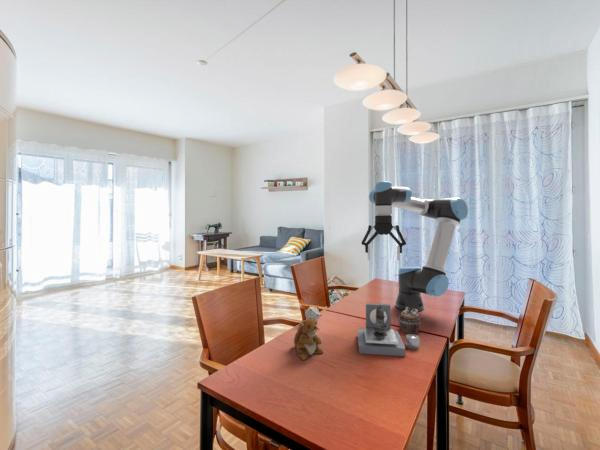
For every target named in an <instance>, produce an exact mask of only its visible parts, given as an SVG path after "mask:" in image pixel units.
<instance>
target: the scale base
mask: <svg viewBox="0 0 600 450" xmlns="http://www.w3.org/2000/svg"><path fill="white" fill-rule="evenodd" d="M380 305H381V307H382V308H383V309H384V316H385V317H384V324H386V325H387V326H388V327H387V329H392V328H391V324H392V323H391V319H392V317H391V315H392V314H391V310H392V309H391V304H390V303H383V302H382V303H379V302H365V328H373V324H374V323H376V309H377V308H378V307H380ZM394 333H395V335H396V338H397V340H398V344H380V343H366V341H365V334H364V328H363V329H360V328H358V329H357V343H358V351H359V352H358V353H359V354H363V355H364V354H365V355H366V354H367V355H381V356H395V357H397V356H398V357H406V346H405V344H404V342H403V340H402V337H401V335H400V333H399V331H398V330H397V331H396V330H394Z"/></svg>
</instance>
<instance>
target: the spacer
mask: <svg viewBox="0 0 600 450" xmlns="http://www.w3.org/2000/svg"><path fill="white" fill-rule="evenodd" d="M405 348H407V349H410V350H411V349H412V350H417V349H420V336H419V335H417V334H415V333H409V334H406V335H405Z"/></svg>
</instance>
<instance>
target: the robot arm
mask: <svg viewBox="0 0 600 450" xmlns="http://www.w3.org/2000/svg"><path fill="white" fill-rule="evenodd" d="M374 185H375V186H374V189H373V190H371V191H370V192H369V195H368V198H369V201H370V202H371V203H372V204H374V206H375V207H374V209H375V210H374V212H375V216H374V223H375V224H374V225H371V224H370V225H369V224H368V227H367V231H366V233H365V235H364V237H363V239H362V240H361V245H362V246H364V249H365V251H364V252H365V253H366V254H367V260H368V261H370V259H371V256H370V252H371V248H370V244H371V243H372V242H373V241H374V239H376V237H377V236H379V235H380V236H381V235H382V236H383V235H385V236H386V235H389V236H390V237H391V238H392V240H394V241H395V243H396V244H397V246H396V260H397V261H400V259H401V257H400V256H401V255H400V254H402V253H403V247H404V246H406V245H407V242H406V240H405V238H404V236H403V234H402V232H401V231H400V226H399V225H398V224H395V225H393V223H392V220H393V216H392V214H393V208H397V209H401V210H406V211H409V212H415V214H416V215H419V216H422V217H426V218H430V219H433V220H436V222H437V226H436V230H435V233H434V237H433V240H432V244H431V248H430V252H429V254H428V258H427V262H426V264H424V265H423V266H422V268H421V267H420V266H414V265H413V266H402V267H399V269H398V294H397V297H396V299H395V307H396V308H397V309H399V310H402V311H404V310H406V309H405V308H406V307H410V308H417V310H418V312H421V311H423V310H424V309H425V303H424V300H423V298H422V295H421V294H425V295H428V296H430V297H431V296H432V297H441V296H443V295H444V294H445V293H446V292H447V290H448V288H449V285H450V282H449V278H448V276H446V275H447V272H446V270H445V266H446V262H447V260H448V255H449V253H450V248H451V244H452V241H453V237H454V234H455V233H454V232H455V230H456V227H458V226H459V225H460V224H461V220H462V221H463V220H465V219H466V218H467V217H468V214H469V209H468V205H467V202H466V201H465V199H463V198H461V197H448V198H447V197H446V198H445V197H443V198H430V199H428V198H416V197H412V196H413V195H412V190H411V189H410V188H409V187H406V186H393V183H392V182H391V181H377V182H376V183H375V184H374ZM373 229H374V230H375V231H374V233H373V234H372V235H371V237H370V238H369V239H368V237H369V235H370V234H371V232H372V231H373ZM393 229H394V230H395V231H396V233H397V234H396V235H398V237H399V239H400V240H399V239H398V238H397V237H396V235H394V233H393V232H392V230H393ZM367 239H368V240H367Z"/></svg>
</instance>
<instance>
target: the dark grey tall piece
mask: <svg viewBox="0 0 600 450" xmlns="http://www.w3.org/2000/svg"><path fill="white" fill-rule="evenodd" d="M384 317H385V316H384V309H383V308H382V307H381V305H380V307H378V308H377V309H376V323H374V324H373V328H374V330H375V331H376V332H374V333H373V334H374V335H375V336H377V337H386V336H387V334H386V333H385V332H386V330H387V327H388V326H387V325H386V324H384Z"/></svg>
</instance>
